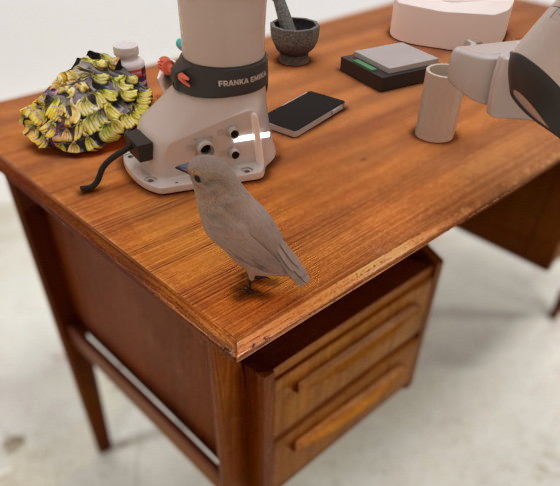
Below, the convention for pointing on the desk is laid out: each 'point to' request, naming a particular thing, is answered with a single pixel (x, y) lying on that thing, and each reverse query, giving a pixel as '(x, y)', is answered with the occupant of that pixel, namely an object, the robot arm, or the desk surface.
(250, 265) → the bird
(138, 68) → the pill bottle
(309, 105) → the smartphone
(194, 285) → the desk surface
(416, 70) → the scale
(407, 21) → the tissue box
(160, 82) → the long cone
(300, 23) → the mortar and pestle
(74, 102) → the banana patterned fabric
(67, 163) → the desk surface
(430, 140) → the cup
